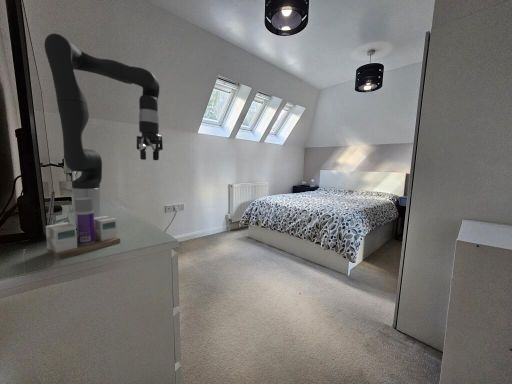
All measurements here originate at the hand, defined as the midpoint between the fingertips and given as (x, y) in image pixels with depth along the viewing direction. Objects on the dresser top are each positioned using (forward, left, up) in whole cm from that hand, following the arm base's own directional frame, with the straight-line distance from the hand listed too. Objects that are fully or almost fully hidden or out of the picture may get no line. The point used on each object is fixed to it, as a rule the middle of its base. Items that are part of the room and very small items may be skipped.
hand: (149, 160), depth 94 cm
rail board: (+4, -27, -30) cm, 41 cm away
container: (+4, -27, -29) cm, 40 cm away
